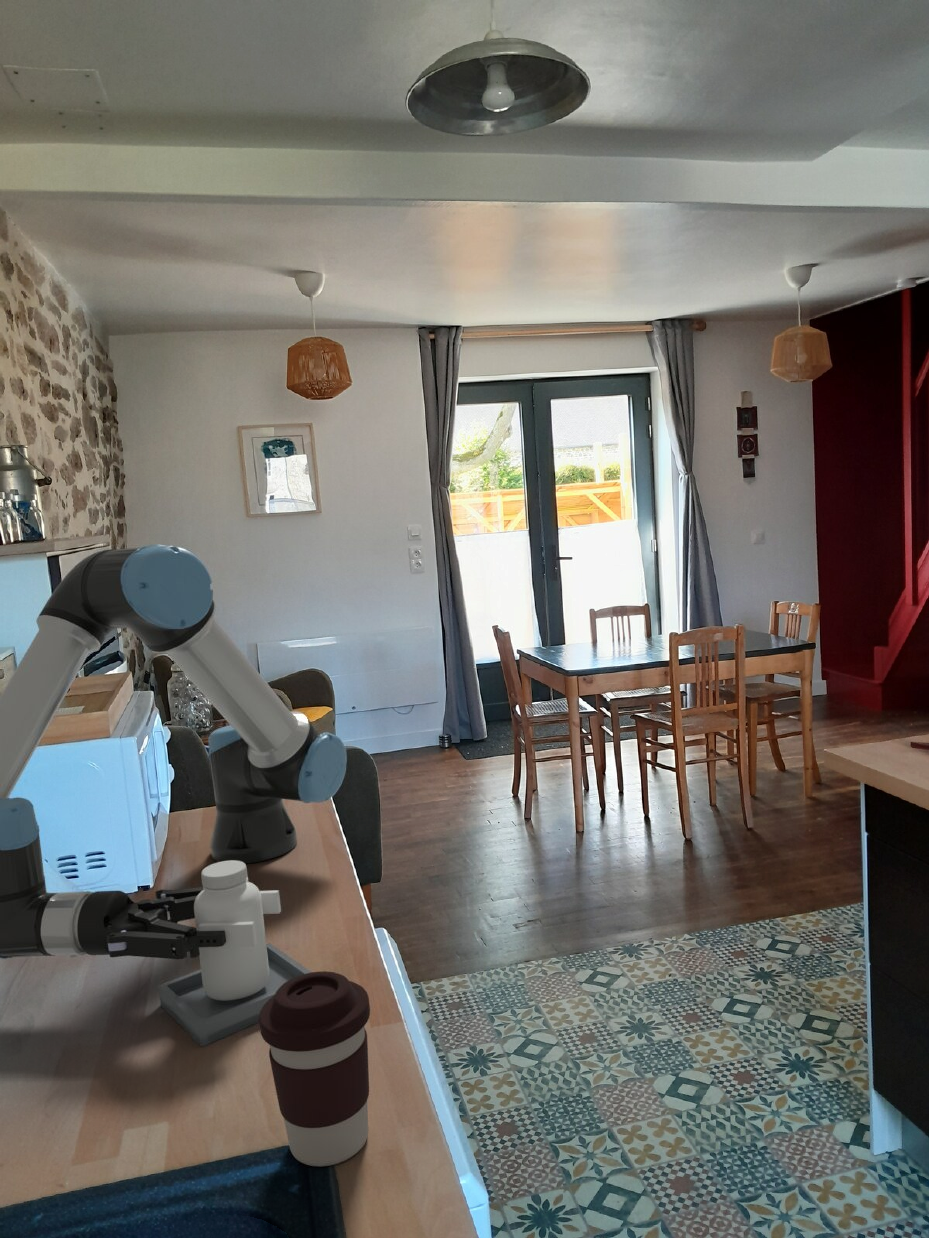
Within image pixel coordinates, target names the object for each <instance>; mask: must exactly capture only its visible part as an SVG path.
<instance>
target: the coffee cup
mask: <svg viewBox="0 0 929 1238" xmlns="http://www.w3.org/2000/svg"><path fill="white" fill-rule="evenodd" d="M369 997H370V996H369V994H368V992H367V991H366V990H365V988H364V987H363V986H362V985H360V984H358V983H356V982H354V981H352V980H349V979H348V978H347V977H346V976H345V975H343V974H341V973H338V972H334V971H327V970H324V971H311V973H307V974H303V975H300V976H297V977H295V978H292V979H291V980H289V981H287V982H285V983H284V984H283V985H282V986H281V987H279V989H278V990H277V991H276V993H275V995H274V996H273V997H271V998H270V999H269V1000H268V1001H267V1002H266V1003H265V1004H264V1005H263V1007H262V1009H261V1011H260V1014H259V1022H258V1023H259V1033H260V1035H261V1037H262V1039H263V1040H264V1041H265V1043H267V1045H269V1052H268V1055H269V1056H268V1057H269V1060H270V1066H271V1072H272V1076H273V1082H274V1087H275V1092H276V1096H277V1097H276V1098H277V1101H278V1107H279V1112H280V1114H281V1116H282V1117H283V1120H284V1124H285V1131H286V1136H287V1141H288V1146H289V1150H290V1152H291V1154H292V1155H293V1157H294V1158H295V1159H296V1160H297V1161H298V1162H300V1163H302V1164H304V1165H307V1166H311V1167H328V1166H333V1165H337V1164H340V1163H342V1162H345V1161H347V1160H349V1159H350V1158H352V1157H353V1156H355V1155H356V1154H358V1153H359V1151H360V1150H361V1149H362V1148H363V1147H364V1145H365V1144H366V1141H367V1139H368V1136H369V1114H368V1113H369V1111H368V1110H369V1109H368V1099H369V1095H370V1078H369V1076H370V1075H369V1074H370V1073H369V1048H368V1047H369V1046H368V1043H369V1042H368V1041H369V1040H368V1033H367V1030H366V1027H365V1026H366V1024H367V1023H368V1021H369V1019H370V1015H371V1006H370V1005H371V1004H370V998H369Z"/></svg>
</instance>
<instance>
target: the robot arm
mask: <svg viewBox="0 0 929 1238" xmlns="http://www.w3.org/2000/svg"><path fill="white" fill-rule="evenodd" d="M211 584H213V581H212V578H211V575H210V573H209V571H208V569H207V567H206V566H205V564H204V563H203V561H202V560H201V559H200V558H199V557H198V556H196V555H195V554H194V553H192V551H189V550H187V549H185V548H183V547H180V546H175V545H164V544H151V545H144V546H141V547H131V548H118V549H116V548H115V549H114V548H111V549H104V550H100V551H96V552H93V553H92V554H90V555H87V556H86V557H84V558H83V559H82V560H81V561H79V562H78V563H76V564H75V566H73V567H72V569H70V571H69V572H68V573H67V574H66V575H65V576H64V577H63V578H62V580H61V581H60V583H59V584H58V585H57V586H56V588H55V589H54V590H53V592H52V593H51V595H50V597H49V598H48V600H47V601H46V603H45V604H44V607H43V608H42V610H41V611H40V613H39V614H38V617H37V618H36V625H37V628H38V631H37V633H36V634H35V636H34V638H33V640H32V641H31V644H29V646H28V649H27V650H26V652H25V653H24V655H23V657H22V658H21V659H20V661H19V664H18V665H17V667H16V668H15V671H14V672H13V674H12V675H11V677H10V679H9V680H8V682H7V684H6V686H5V688H4V689H3V691H2V693H1V694H0V959H2V960H6V959H7V960H8V959H13V958H31V957H32V958H33V957H57V956H58V957H59V956H64V957H65V956H69V958H71V959H75V958H76V957H77V956H86V955H89V956H109V957H110V958H118V957H119V958H121V957H140V958H152V959H153V958H155V959H156V958H157V959H168V960H169V959H170V960H184V959H185V958H187V957H188V952H189V956H190V957H189V958H191V959H194V958H198V957H199V955H200V952H199V947H201V948H226V947H255V946H256V944H257V939H256V931H255V922H223V923H201V924H200V925H199V931H197V929H196V926H195V927H194V926H190V925H185V924H182V923H179V922H182V921H187V920H193V919H194V920H195V914H194V903H195V899H196V897H197V896H198V894H199V893H200V892H201V891H203V890H204V889H203V886H199V887H191V888H181V889H158V890H156V891H155V898H153V899H151V898H148V899H147V898H146V899H142V900H139V901H137V902H134V901H133V900H132V899H131V898H130V897H129V895H128V894H127V893H126V892H125V891H122V890H103V891H102V890H99V891H98V890H97V891H94V892H93V891H87V890H85V891H67V892H64V891H63V892H47V885H46V876H45V874H44V873H45V872H44V866H43V865H44V863H43V855H42V846H41V839H40V825H39V824H38V821H37V818H36V812H35V808H34V805H33V803H32V801H30V800H29V799H27V798H25V797H17V796H16V797H11V798H10V796H11V794H12V792H13V790H14V789H15V787H16V785H17V783H18V782H19V780H20V778H21V776H22V774H23V772H24V771H25V769H26V767H27V765H28V764H29V761H30V760H31V758H32V757H33V754H34V752H35V751H36V749H37V747H38V745H39V744H40V743H41V740H42V738H43V737H44V735H45V733H46V731H47V730H48V727H49V725H50V724H51V723H52V720H53V718H54V717H55V715H56V714H57V712H58V709H59V708H60V706H61V704H62V702H63V700H64V699H65V697H66V695H67V693H68V692H69V690H70V688H71V686H72V684H73V683H74V680H75V679H76V677H77V676H78V674H79V672H80V670H81V668H82V666H83V665H84V663H85V661H86V659H87V658H88V656H89V654H91V653H94V652H95V653H96V652H97V651H99V650H100V648H101V647H102V646H103V644H104V642H105V640H106V639H107V637H108V636H109V635H110V634H111V633H112V632H113V631H115V630H117V629H130V630H131V631H132V632H133V634H135V635H136V636H137V637H138V639H139V640H140V641H141V642H142V643H143V644H144V645H145V646H146V647H147V649H148V650H150V651H151V652H152V653H155V654H167V655H168V656H169V658H171V659H172V660H173V662H174V663H175V664H176V665H177V666H178V668H180V670H181V671H182V672H183V673H184V674H185V676H186V677H187V678H188V679H190V681H191V682H192V683H193V684H194V686H195V687H196V688H197V689H198V691H200V693H201V694H202V695H203V696H204V697H205V698H206V699H207V700H208V701H209V703H211V705H212V706H213V707H214V708H215V709H216V710H217V711H218V713H219V714H220V715H221V716H222V717H223V718H224V719H225V720H226V721H227V723H228V724H229V725H226V726H222V727H220V728H217V729H215V730H213V731H212V732H211V733H210V734H209V736H208V741H207V742H208V753H207V754H208V757H209V764H210V765H209V767H210V773H211V779H212V786H213V788H212V789H213V794H214V801H215V807H216V809H215V810H216V815H215V819H214V826H213V829H212V830H213V831H212V834H211V840H210V851H211V852H210V853H211V858H212V859H213V860H214V861H216V862H217V863H218V862H222V861H230V860H235V861H241V862H243V863H245V864H252V863H258V862H263V861H266V860H267V861H268V860H270V859H274V858H278V857H280V856H283V855H284V854H287V853H288V852H290V851H291V850H293V849H294V848H295V847H296V845H297V844H298V837H297V830H296V828H295V826H294V823H293V822H292V819H291V818H290V815H289V813H288V810H287V809H286V806H285V803H284V801H283V800H289V801H295V802H302V803H305V804H311V803H312V804H313V803H314V804H315V803H317V804H320V803H325V802H327V801H328V800H330V799H331V798H333V797H334V796H335V794H336V793H337V792H338V791H339V789H340V788H341V785H342V784H343V781H344V778H345V776H346V771H347V761H348V758H347V757H348V756H347V755H348V754H347V749H346V747H345V744H344V742H343V741H342V739H341V738H340V737H339V736H337V735H335V734H333V733H331V732H327V731H326V732H321V731H319V730H317V728H316V727H315V726H314V725H313V723H312V722H311V721H310V720H309V718H308V717H307V716H306V715H305V714H304V713H302V712H300V711H297V710H293V711H292V710H291V711H290V709H289V708H288V707H287V705H286V704H285V703H284V702H283V700H281V698H280V697H279V696H278V695H277V693H276V692H275V691H274V690H273V689H272V687H271V686H270V685H269V683H268V682H267V680H265V679H264V677H263V676H262V675H261V674H260V673H259V671H258V670H257V668H255V667H254V665H253V663H252V662H251V661H250V660H249V659H248V657H246V655H245V654H244V652H242V650H241V649H240V648H239V647H238V645H237V644H236V643H235V641H234V640H233V639H232V638H231V637H230V636H229V634H228V633H227V632H226V631H225V629H224V628H223V627H222V625H221V624H220V623H219V622H218V621H217V620H216V618H215V617H214V615H215V612H216V603H215V601H214V589H212V588H211ZM259 891H260V893H261V900H262V909H263V915H273V914H275V915H277V914H278V915H279V914H280V913H281V912H282V907H281V898H280V890H275V889H274V890H259ZM168 913H169V918H168Z"/></svg>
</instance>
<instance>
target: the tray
mask: <svg viewBox="0 0 929 1238" xmlns="http://www.w3.org/2000/svg"><path fill="white" fill-rule="evenodd" d="M266 946H267V956H268V965H269V980H268V983H267V984H266V986H265V987H264V988H262V989H261V990H260V991H258V992H256V993H255V994H252V995H250V996H247V997H244V998H241V999H236V1000H227V1001H222V1000H215V999H212V998H210V997H208V996H207V995H206V994H205V992H204V988H203V983H202V974H201V968H200V969H197V970H195V971H193V972H190V973H188V974H185V975H182V976H179V977H177V978H175V979H172V980H169V981H167V982H164V983H161V984H159V985H158V986H157V988H158V989H157V990H158V996H159V1002H160V1003H159V1005H160V1006H161V1007H162V1009H164V1010H165V1011H166V1012H167V1014H169V1015H170V1016H171V1017H172V1018H173V1020H175V1021H176V1022H177V1023H178V1024H179V1025H180V1027H182V1029H183V1030H184V1031H186V1033H187V1034H188V1035H189V1036H190V1037H191V1038H192V1039H193V1041H195V1042H196V1043H197V1044H198V1045H199V1047H201V1048H202V1047H206V1046H208V1045H210V1044H212V1043H214V1042H216V1041H219V1040H221V1039H223V1038H225V1037H228V1036H231V1035H232V1034H235V1033H238V1032H239V1031H241V1030H245V1029H246V1028H249V1027H251V1026H253V1025H255V1024H257V1023H259V1014H260V1011H261V1009H262V1007H263V1005H264V1004H265V1003H266V1002H267V1001H268V1000H269V999H270V998H271V997H273V996H274V995H275V993H276V991H277V990H278V989H279V987H281V986H282V985H283V984H284V983H285V982H287V981H289V980H291V979H292V978H295V977H297V976H300V975H303V974H307V973H311V972H312V971H311V970H309V969H308V968H306V967H305V966H303V965H302V964H301V963H299V962H298V961H296V960H295V959H294V958H292V957H290V956H289V955H288V954H287V953H285V952H284V951H282V950H280V948H277V946H275V945H274V944H272V943H271V942H269V943H266Z"/></svg>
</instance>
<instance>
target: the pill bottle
mask: <svg viewBox="0 0 929 1238" xmlns="http://www.w3.org/2000/svg"><path fill="white" fill-rule="evenodd" d="M246 864H247V863H243V862H241V861H235V860H230V861H222V862H218V861H217V862H215V863H212V864H209V865H208V866H206V867H204V868H203V869H202V871H201V874H200V876H201V884H202V885H201V886H202V887H203V889H204V890H203V891H201V892H200V893H199V894H198V896H197V897H196V899H195V903H194V914H195V918H194V921H195V928H196V929H197V931H199V925H200V924H201V923H223V922H255V931H256V939H257V944H256V946H255V947H226V948H201V947H199V952H200V955H199V956H198V957H199V964H200V969H201V974H202V983H203V988H204V992H205V994H206V995H207V996H208V997H210V998H212V999H215V1000H222V1001H227V1000H236V999H241V998H244V997H247V996H250V995H252V994H255V993H256V992H258V991H260V990H261V989H262V988H264V987H265V986H266V984H267V983H268V980H269V965H268V956H267V946H266V944H267V939H266V938H267V937H266V929H265V920H264V919H265V918H264V914H263V909H262V900H261V893H260V891H261V890H260V889H259V887H258V886H257V885H255V884H254V883H253V882H250V881H249V877H248V869H247V865H246Z"/></svg>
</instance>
